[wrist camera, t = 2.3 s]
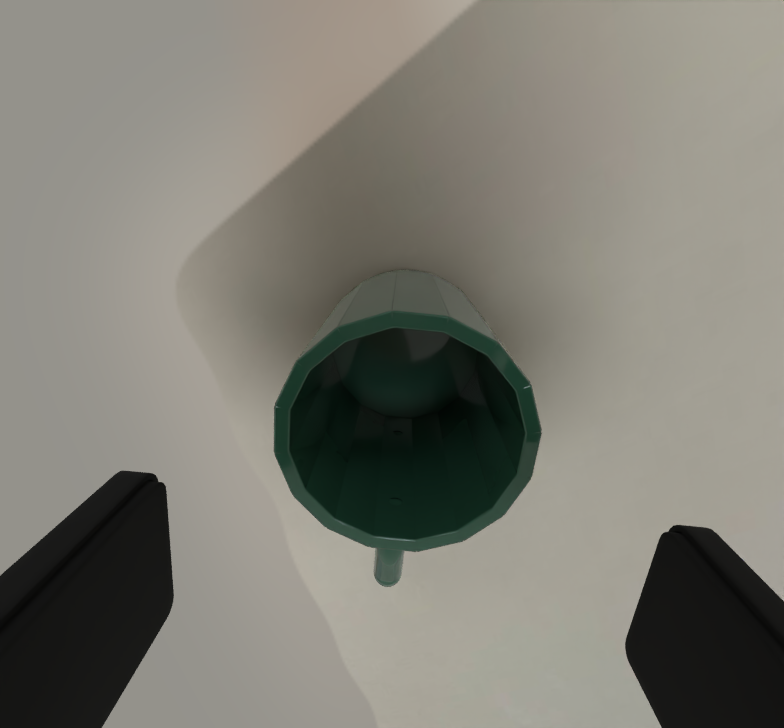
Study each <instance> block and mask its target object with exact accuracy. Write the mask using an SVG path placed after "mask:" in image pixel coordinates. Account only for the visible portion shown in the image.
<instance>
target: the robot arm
mask: <svg viewBox="0 0 784 728" xmlns="http://www.w3.org/2000/svg"><path fill="white" fill-rule="evenodd" d="M173 596H174V594H173V580H172V565H171V551H170V537H169V522H168V509H167V494H166V486H165V485H164V483H162V482H158V479H157V477H156V475H154V474H152V473H143V472H142V473H141V472H132V471H120V472H118V473H117V474H115V475H114V476H113V477H112V478H111V479H109V480H108V481H107V482H106V483H105V484H104V485H103V486H102V487H101V488H99V489H98V490H97V491H96V492H95V493H94V494H92V495H91V496H90V497H89V498H88V499H87V500H86V501H85V502H83V503H82V504H81V505H80V506H79V507H78V508H77V509H76V510H74V511H73V512H72V513H71V514H70V515H69V516H67V518H65V519H64V520H63V521H62V522H61V523H60V524H58V525H57V526H56V527H55V528H54V529H53V530H52V531H50V532H49V533H48V534H47V535H46V536H45V537H44V538H43V539H41V540H40V541H39V542H38V543H37V544H36V545H35V546H33V547H32V548H31V549H30V550H29V551H28V552H27V553H25V554H24V555H23V556H22V557H21V558H20V559H19V560H18V561H16V563H14V564H13V565H12V566H11V567H10V568H8V569H7V570H6V571H5V572H4V573H3V574H2V575H1V576H0V728H102V726H103V725H104V723H105V721H106V720H107V718H108V716H109V715H110V713H111V711H112V710H113V708H114V706H115V705H116V703H117V701H118V699H119V698H120V696H121V694H122V692H123V691H124V689H125V688H126V686H127V684H128V683H129V681H130V679H131V678H132V676H133V674H134V673H135V671H136V669H137V668H138V666H139V664H140V662H141V661H142V659H143V658H144V656H145V654H146V653H147V651H148V649H149V648H150V646H151V644H152V643H153V641H154V639H155V637H156V636H157V634H158V632H159V631H160V629H161V627H162V626H163V624H164V622H165V621H166V619H167V617H168V615H169V613H170V610H171V607H172V603H173ZM625 648H626V654H627V658H628V661H629V663H630V665H631V667H632V669H633V671H634V673H635V675H636V677H637V679H638V681H639V683H640V685H641V687H642V689H643V691H644V693H645V695H646V697H647V699H648V701H649V703H650V705H651V707H652V709H653V711H654V713H655V715H656V717H657V719H658V721H659V723H660V725H661V727H662V728H784V601H783V600H782V599H781V598H780V597H779V596H778V595H777V594H776V593H775V592H774V591H773V590H772V589H771V588H770V587H769V586H768V585H767V584H766V583H765V582H764V581H763V580H762V579H761V578H760V577H759V576H758V575H757V574H756V573H755V572H754V571H753V570H752V569H751V568H750V567H749V566H748V565H747V564H746V563H745V562H744V561H743V560H742V559H741V558H740V557H739V556H738V555H737V554H736V553H735V552H734V551H733V550H732V549H731V548H730V547H729V546H728V545H727V544H726V543H725V542H724V541H723V540H722V539H721V538H720V537H719V535H718V534H717V533H715V532H714V531H713V530H711V529H709V528H704V527H693V526H683V525H675V526H673V527H672V528H670V530H669V532H665V533H663V534H662V535H661V537H660V539H659V542H658V545H657V548H656V551H655V554H654V557H653V560H652V563H651V566H650V569H649V572H648V575H647V578H646V581H645V584H644V587H643V590H642V593H641V596H640V599H639V602H638V605H637V608H636V611H635V614H634V617H633V620H632V623H631V626H630V629H629V632H628V635H627V638H626V642H625Z"/></svg>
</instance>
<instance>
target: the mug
mask: <svg viewBox="0 0 784 728" xmlns="http://www.w3.org/2000/svg"><path fill="white" fill-rule="evenodd" d="M541 430H542V429H541V425H540V420H539V416H538V412H537V407H536V403H535V398H534V394H533V389H532V385H531V384H530V381H529V380H528V379H527V377H526V376H525V375H524V373H523V372H522V371H521V369H520V368H519V366H518V365H517V364H516V362H515V361H514V360H513V358H512V357H511V356H510V354H509V353H508V352H507V350H506V349H505V347H504V346H503V345H502V343H501V342H500V341H499V339H498V338H497V337H496V335H495V334H494V333H493V331H492V330H491V328H490V327H489V326H488V324H487V323H486V322H485V320H484V319H483V318H482V316H481V315H480V314H479V312H478V311H477V310H476V308H475V307H474V306H473V305H472V303H471V302H470V301H469V299H468V298H467V297H466V296H465V294H464V293H463V292H462V290H460V289H459V288H457V287H455V286H454V285H453V284H451V283H450V282H448V281H446V280H445V279H443V278H440V277H438V276H436V275H433V274H430V273H427V272H423V271H417V270H395V271H389V272H385V273H381V274H379V275H376V276H373V277H371V278H369V279H367V280H365V281H363V282H362V283H361V284H359V285H358V286H356V287H355V288H354V289H353V290H352V291H351V292H350V293H349V294H348V295H347V296H345V297H344V298H343V299H342V300H341V301H340V302H339V303H338V305H337V306H336V307H335V309H334V310H333V311H332V313H331V314H330V316H329V317H328V318H327V320H326V321H325V322H324V324H323V325H322V326H321V328H320V329H319V330H318V332H317V333H316V335H315V336H314V337H313V339H312V340H311V341H310V343H309V344H308V345H307V347H306V348H305V350H304V351H303V352H302V354H301V355H300V356H299V358H298V359H297V360H296V362H295V364H294V366H293V368H292V370H291V372H290V374H289V376H288V378H287V380H286V382H285V384H284V386H283V388H282V390H281V393H280V395H279V397H278V399H277V401H276V403H275V407H274V452H275V457H276V459H277V461H278V463H279V466H280V468H281V470H282V473H283V475H284V477H285V479H286V482H287V484H288V486H289V488H290V491H291V493H292V495H293V496H294V497H295V498H296V499H297V500H298V501H299V502H300V503H301V504H302V505H303V506H304V507H305V508H306V509H307V510H308V511H309V512H310V513H311V514H312V515H313V516H314V517H315V518H316V519H317V520H318V521H319V522H320V523H321V524H322V525H323V526H325V527H327V529H330V530H332V531H334V532H336V533H338V534H341V535H343V536H345V537H347V538H350V539H352V540H354V541H356V542H358V543H361V544H363V545H365V546H367V547H369V546H370V547H371V548H376V550H375V562H374V576H375V579H376V581H377V582H378V583H379V584H380V585H382V586H384V587H391V586H393V585H395V584H396V583H397V582H398V581H399V580H400V578H401V574H402V566H403V558H404V551H412V552H416V551H417V552H419V551H423V550H428V549H432V548H437V547H441V546H445V545H450V544H454V543H458V542H462V541H463V540H466V539H468V538H470V537H471V536H473V535H474V534H476V533H477V532H479V531H481V530H482V529H484V528H485V527H487V526H489V525H490V524H492V523H493V522H495V521H496V520H498V519H500V518H501V517H502V516H503V515H505V514H506V512H507V511H508V509H509V508H510V507H511V505H512V504H513V503H514V501H515V500H516V499H517V497H518V496H519V494H520V493H521V492H522V490H523V489H524V488H525V486H526V485H527V484H528V482H529V481H530V480H531V477H532V474H533V469H534V465H535V460H536V456H537V452H538V447H539V443H540V438H541V434H542V433H541Z"/></svg>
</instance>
